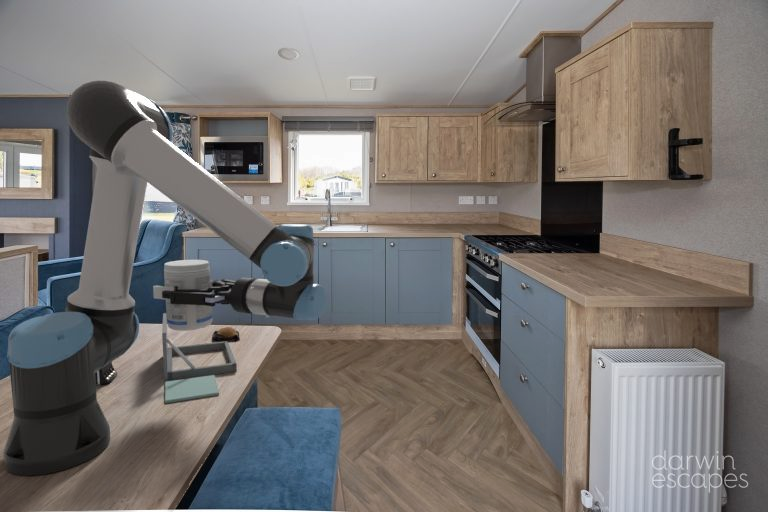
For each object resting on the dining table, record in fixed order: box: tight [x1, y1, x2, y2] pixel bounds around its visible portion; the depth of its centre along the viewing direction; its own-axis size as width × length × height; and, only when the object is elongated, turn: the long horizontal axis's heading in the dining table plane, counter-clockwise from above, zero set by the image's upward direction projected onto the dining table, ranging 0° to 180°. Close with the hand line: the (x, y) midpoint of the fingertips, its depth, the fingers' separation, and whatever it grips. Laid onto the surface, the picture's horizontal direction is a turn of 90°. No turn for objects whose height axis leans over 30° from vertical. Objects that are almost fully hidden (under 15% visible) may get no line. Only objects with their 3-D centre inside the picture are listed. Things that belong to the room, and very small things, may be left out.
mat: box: [164, 374, 220, 404], centre depth 106 cm, size 11×11×1 cm
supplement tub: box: [163, 259, 213, 332], centre depth 103 cm, size 10×10×15 cm
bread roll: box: [211, 326, 241, 344], centre depth 144 cm, size 11×8×4 cm
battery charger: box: [95, 361, 118, 386], centre depth 109 cm, size 7×4×11 cm, turn 13°
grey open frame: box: [161, 312, 237, 382], centre depth 122 cm, size 17×20×12 cm
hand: (172, 287), depth 104 cm, fingers closed on supplement tub, 9 cm apart
